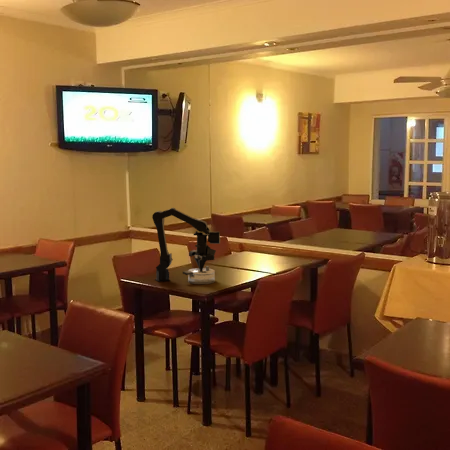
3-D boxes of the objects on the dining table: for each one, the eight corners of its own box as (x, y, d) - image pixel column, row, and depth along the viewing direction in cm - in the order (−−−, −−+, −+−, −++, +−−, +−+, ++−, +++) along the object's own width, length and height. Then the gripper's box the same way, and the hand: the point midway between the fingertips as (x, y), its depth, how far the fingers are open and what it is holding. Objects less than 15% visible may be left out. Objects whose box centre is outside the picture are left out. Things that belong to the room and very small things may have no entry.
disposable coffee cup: (187, 271, 358) (187, 251, 357) (195, 268, 367) (195, 249, 365) (200, 272, 354) (200, 253, 352) (208, 269, 362) (208, 250, 361)
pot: (196, 285, 318) (196, 276, 318) (182, 280, 331) (182, 271, 331) (220, 282, 327) (220, 273, 326) (205, 277, 340) (205, 269, 339)
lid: (191, 276, 316) (191, 271, 316) (178, 272, 329) (178, 266, 328) (219, 273, 326) (219, 268, 326) (205, 268, 339) (205, 263, 338)
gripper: (222, 244, 323) (222, 272, 325) (205, 240, 339) (204, 266, 340) (205, 245, 317) (205, 273, 319) (188, 241, 333) (188, 268, 334)
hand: (201, 270), depth 328 cm, fingers closed, pressing on lid
